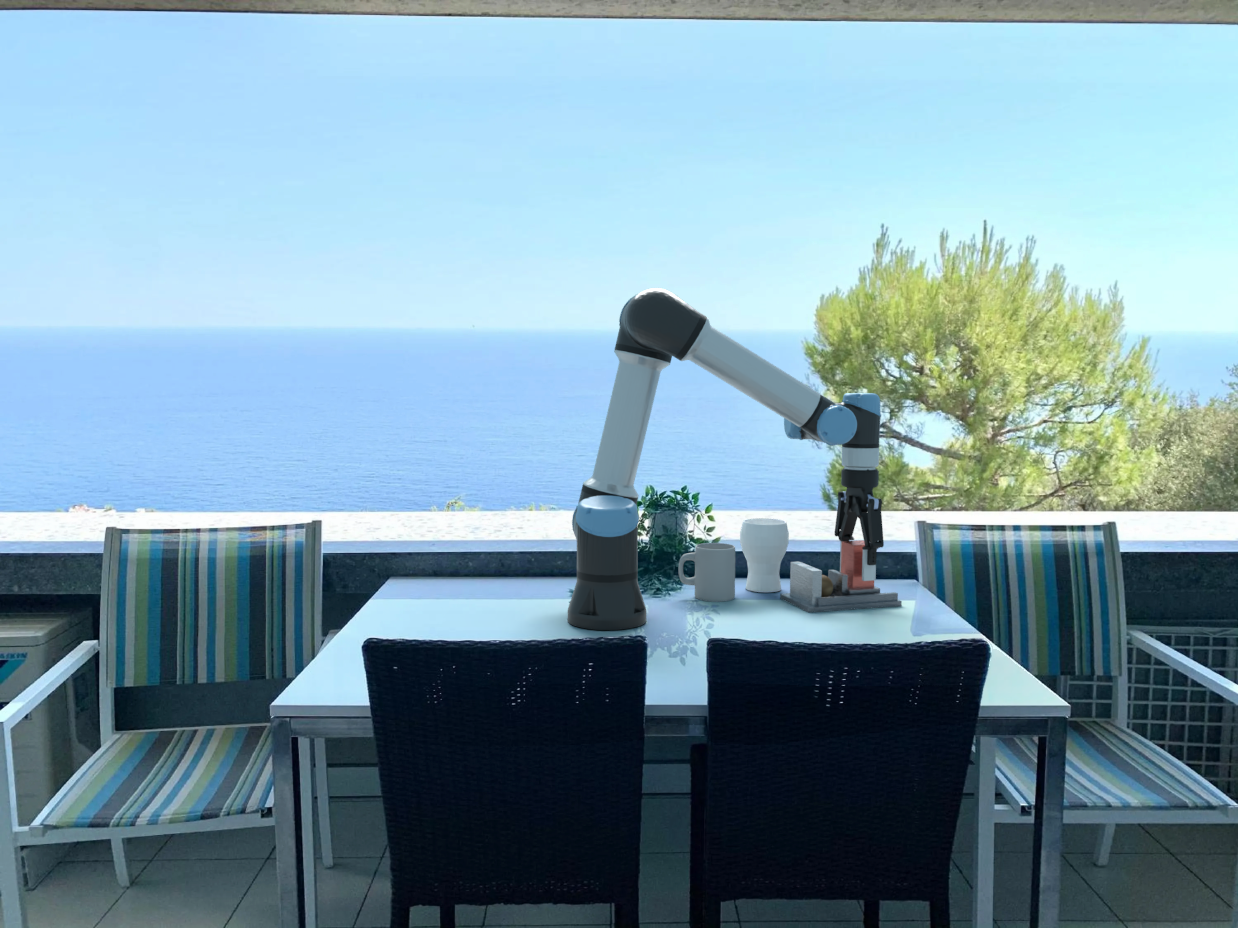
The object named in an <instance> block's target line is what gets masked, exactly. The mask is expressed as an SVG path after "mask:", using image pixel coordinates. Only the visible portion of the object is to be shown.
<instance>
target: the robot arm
mask: <svg viewBox="0 0 1238 928" xmlns="http://www.w3.org/2000/svg"><path fill="white" fill-rule="evenodd" d="M709 319H710V318H709V317H708V316H706V315H705V314H703V313H701V312H700V311H699V310H698V309H697V310H696V308H694V307H693V306H691V305H690V304H688V303H687V302H686V301H684V300H683V299H682V298H680V297H679V296H678V295H677V294H675V293H674V292H672V291H670V290H668V289H665V288H661V287H660V288H659V287H651V288H647V289H644V290H642V291H640V292H639V293H637V294H635V295H633V296H632V297H631V298H629V299H628V301H626V303H625V304H624V306H622V309H621V312H620V315H619V319H618V320H619V321H618V322H619V329H618V334H617V338H616V343H615V347H614V350H613V351H614V353H615V355H616V357H617V359H618V366H617V370H616V373H615V374H616V375H615V378H614V384H613V387H612V391H611V396H610V401H609V404H608V409H607V412H606V413H607V414H606V418H605V421H604V425H603V430H602V435H601V439H600V442H599V446H598V451H597V454H596V459H595V464H594V468H593V472H592V476H591V477H589V478H587V479H586V480H584V481H583V483H582V488H581V491H580V496H579V499H578V504H577V505H576V508H575V509H574V511H573V513H572V514H573V515H572V520H571V521H572V523H571V524H572V531H573V533H574V537H575V539H576V582H575V586H574V589H573V593H572V595H571V599H570V602H569V604H568V608H567V623H568V624H570V625H571V626H574V627H578V628H581V629H587V630H599V631H618V630H627V629H634V628H637V627H640V626H643V625H644V624H645V623H646V622H647V607H646V605H645V601H644V597H643V595H642V591H641V589H640V585H639V581H638V569H639V568H638V560H639V559H638V558H639V557H638V552H639V551H638V542H639V541H638V540H639V539H638V538H639V537H638V533H639V532H638V528H639V527H638V524H639V521H640V516H639V513H638V506H637V505H638V500H639V494H638V492H637V490H636V489H635V487H634V484H635V480H636V476H637V471H638V468H639V463H640V459H641V455H642V451H643V446H644V443H645V440H646V434H647V431H648V425H649V421H650V418H651V414H652V409H653V405H654V401H655V398H656V397H655V396H656V392H657V389H658V385H659V381H660V376H661V372H662V370H664V369H665V368H667V367H669V366H670V365H671V362H672V358H676V360H679V361H680V362H685V361H690V362H692V363H694V364H695V365H697V366H698V367H700V368H702V369H703V370H705V371H707V372H708V373H709V374H712V375H713V376H714V377H717V378H718V379H720V380H721V381H723V382H725V383H726V384H728V385H730V386H731V387H733V388H734V389H736V390H738V391H739V392H740V393H743V394H744V395H746V396H747V397H749V398H751V399H752V400H754V401H755V402H757V403H759V404H761V405H762V406H764V407H766V408H767V409H769V410H771V411H772V412H774V413H775V414H777V415H779V416H780V417H782V418H783V427H784V432H785V435H786V437H787V438H788V439H791V440H799V441H803V440H813V441H815V442H821V443H824V444H826V445H828V446H839V445H840V446H841V466H842V467H843V468H842V469H841V475H840V476H841V477H840V478H841V479H840V485H841V486H842V487H844V488H846V490H845V491H838V492H837V501H838V502H837V503H838V504H837V509H836V516H835V518H836V519H835V526H834V537H838V540H839V541H840V545H839V547H840V549H839V550H840V552H839V553H840V554H839V555H840V556H839V558H840V559H839V572H841V547H842V541H855V538H854V536H853V534H854V531H855V527H856V524H857V520H858V519H859V523H860V528H861V532H862V539H863V541H864V543H865V546H864V547H862V549H863V557H862V580H863V581H871V580H874V581H876V579H877V578H876V577H877V576H876V575H877V573H876V572H877V571H876V570H877V550H878V549H879V548H883V547H884V546H885V544H884V531H883V518H882V516H883V515H882V506H883V500H882V498H876V497H874V493H873V489H875V488H878V486H879V481H880V479H879V475H880V474H879V473H880V472H879V471H880V470H878V468H877V467H878V466H880V465H879V463H880V460H879V459H880V434H881V431H880V429H881V418H882V414H881V398H880V396H879V395H878V394H877V393H874V392H873V393H872V392H850V393H849V392H846V393H844V394H843V397H842V400H841V401H842V402H834V401H832V400H830V399H829V398H827V397H825V396H824V395H822V394H821V393H819V392H817V391H816V390H815V389H813V388H811V387H809V386H808V385H807V384H805V383H803V382H802V381H800V380H798V379H797V378H795V377H794V376H792V375H790V374H789V373H787V372H786V371H784V370H782V369H781V368H779V367H778V366H776V365H774V364H773V363H771V362H770V361H767V360H766V359H765V358H763V357H762V356H760V355H758V354H757V353H755V352H753V351H752V350H750V349H749V348H747V347H745V346H744V345H742V344H740V342H737V341H736V340H735V339H732V338H731V337H729V336H728V335H726V334H724V333H723V332H721V331H720V330H718V329H716V328H715V327H714V326H712V325H711V323H710V320H709Z"/></svg>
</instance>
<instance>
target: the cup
mask: <svg viewBox="0 0 1238 928" xmlns="http://www.w3.org/2000/svg"><path fill="white" fill-rule="evenodd" d="M789 537H790V533H789V529H788V524H787V521H786V520H784V519H776V518H763V517H762V518H757V517H756V518H747V519H744V520H742V523H741V527H740V531H739V543H740V547H741V551H742V553H743V555H744V557H745V560H746V565H747V577H746V583H745V584H746V585H745V589H746V590H748V591H750V592H754V593H757V592H758V593H774V592H775V593H776V592H780V591H781V590H782V584H781V577H780V571H781V570H780V569H781V563H782V560H783V558H784V557H785V554H786V553H787V549H788V546H789V540H790V539H789Z"/></svg>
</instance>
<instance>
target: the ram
mask: <svg viewBox="0 0 1238 928" xmlns="http://www.w3.org/2000/svg"><path fill="white" fill-rule="evenodd" d="M864 546H865V543H864V539H860V540H859V539H858V540H849V541H842V547H841V572H840V571H838V570H836V569H828V571H827V573H828V574H827V577H829V578H830V579H831V581H832V583H833V591H832V593H831V595H833V596H848V595H862V594H877V593H881V588H880V587H877V586H875V580H871V581H863V580H862V557H863V549H862V547H864Z"/></svg>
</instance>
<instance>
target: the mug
mask: <svg viewBox="0 0 1238 928" xmlns="http://www.w3.org/2000/svg"><path fill="white" fill-rule="evenodd" d="M694 549H695V550H694V552H688V553H684V554H682V555H681V556H680V559H679V561H678V568H677V569H678V577H679V580H680V582H681V583H682V584H684V585H687V586H694V597H695V599H697V600H700V601H705V602H711V603H712V602H715V603H716V602H719V603H720V602H728V601H733V600H734V599H735V597H736V546H735V545H734V544H729V543H723V542H722V543H721V542H705V543H704V542H702V543H699V544H696V545H695V547H694ZM686 561H691V562H692V561H693V562H694V576H692V577H686V576H685V574H684V563H686Z"/></svg>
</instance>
